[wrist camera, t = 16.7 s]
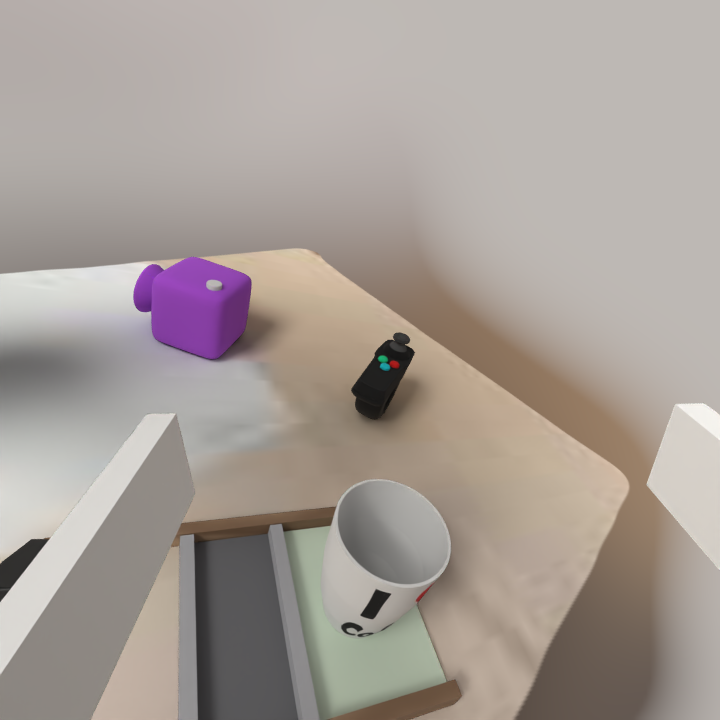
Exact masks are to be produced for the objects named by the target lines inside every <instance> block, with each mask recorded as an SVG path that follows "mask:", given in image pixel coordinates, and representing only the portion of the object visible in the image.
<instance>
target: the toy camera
mask: <svg viewBox="0 0 720 720" xmlns="http://www.w3.org/2000/svg"><path fill="white" fill-rule="evenodd" d="M250 295H251V279H250V277H249V276H247V275H246V274H244V273H241V272H239V271H236V270H233V269H230V268H228V267H225V266H222V265H219V264H216V263H213V262H210V261H207V260H204V259H201V258H197V257H190V258H187V259H184V260H182V261H180V262H179V263H177V264H175V265H173V266H171V267H169V268H168V269H166V270H163V269H162V268H161V267H160V266H159V265H156V264H152V265H149V266H148V267H146V268H145V269H144V270H143V272H142V273H141V275H140V276H139V278H138V280H137V282H136V285H135V289H134V296H133V298H134V304H135V306H136V308H137V309H138V310H139V311H141V312H149V311H151V316H152V333H153V336H154V338H155V339H157V340H158V341H160V342H163V343H165V344H168V345H170V346H173V347H176V348H179V349H182V350H184V351H187V352H190V353H193V354H196V355H199V356H202V357H205V358H209V359H216V358H218V357H220V356H221V355H222V354H223V353H224V352H225V351H226V350H227V349H228V348H229V347H230V346H231V345H232V344H233V343H234V342H235V341H236V340H237V339H238V338H239V337H240V336H241V335H242V333H243V332H244V330H245V327H246V322H247V316H248V309H249V302H250Z"/></svg>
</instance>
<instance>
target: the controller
mask: <svg viewBox="0 0 720 720" xmlns="http://www.w3.org/2000/svg"><path fill="white" fill-rule="evenodd" d="M393 338H394V340H395V341H394V340H387V341H386V342H384V343H383V344H382V345H381V346H380V347H379V348H378V349H377V350H376V352H375V357H374V359H373V360H372V361H371V363H370V364H369V365H368V367H367V368H366V369H365V371H364V372H363V373H362V375H361V376H360V378H359V379H358V380H357V382H356V383H355V384H354V386H353V387H352V390H351V391H352V393H353V394H354V395H355V396H356V397H357V398H356V402H355V407H356V410H357V411H358V412H359V413H361V414H362V415H364V416H366V417H369V418H371V419H379V418H380V417H381V416H382V415H383V414H384V412H385V411H386V409H387V407H388V405H389V403H390V402H391V400H392V398H393V396H394V393H395V391H396V389H397V387H398V385H399V383H400V380H401V379H402V378H403V376H404V374H405V372H406V370H407V368H408V366H409V364H410V362H411V360H412V358H413V356H414V353H415V352H414V350H413V349H412V348H410V347H408V346H406V345H405V344H408V343H409V342H410V338H409V337H408V336H407V335H406V334H403V333H395V334H394V336H393Z"/></svg>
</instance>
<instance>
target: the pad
mask: <svg viewBox="0 0 720 720" xmlns="http://www.w3.org/2000/svg"><path fill="white" fill-rule="evenodd" d="M330 527H331V526H325V527H317V528H309V529H301V530H293V531H285V532H283V533H284V538H285V543H286V548H287V554H288V559H289V564H290V569H291V574H292V579H293V585H294V590H295V595H296V600H297V605H298V610H299V616H300V621H301V626H302V631H303V636H304V641H305V647H306V652H307V657H308V662H309V667H310V673H311V678H312V683H313V688H314V693H315V698H316V704H317V709H318V714H319V719H320V720H327V719H330V718H333V717H337V716H340V715H343V714H346V713H349V712H353V711H356V710H359V709H362V708H365V707H369V706H372V705H375V704H378V703H381V702H385V701H388V700H391V699H394V698H397V697H401V696H404V695H407V694H410V693H413V692H417V691H420V690H423V689H426V688H429V687H433V686H436V685H439V684H442V683H445V682H447V680H446V678H445V675H444V673H443V670H442V668H441V665H440V663H439V660H438V658H437V655H436V653H435V650H434V648H433V645H432V642H431V640H430V637H429V635H428V632H427V630H426V627H425V625H424V622H423V620H422V617H421V615H420V612H419V610H418V607H417V604H416V605H415V606H414V607H413V608H412V609H411V610H409V611H408V612H407V613H406V614H405V615H403V616H402V617H401V618H400V619H398V620H397V621H396V622H395V623H393V624H392V625H391V626H390V627H388V628H387V629H385V630H383V631H380V632H378V633H375V634H373V635H370V636H368V637H364V638H351V637H347V636H345V635H343V634H341V633H340V632H338V631H337V630H336V629H335V628H334V627H333V626H332V625H331V624H330V622H329V621H328V619H327V617H326V615H325V612H324V608H323V600H322V593H321V574H322V565H323V557H324V549H325V544H326V541H327V538H328V534H329V531H330Z"/></svg>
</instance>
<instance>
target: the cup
mask: <svg viewBox="0 0 720 720" xmlns="http://www.w3.org/2000/svg"><path fill="white" fill-rule="evenodd" d="M450 554H451V541H450V535H449V532H448V529H447V526H446V524H445V522H444V520H443V518H442V516H441V515H440V513H439V512H438V511H437V509H436V508H435V507H434V506H433V505H432V503H431V502H430V501H429V500H427V499H426V498H425V497H424V496H423V495H421V494H420V493H419V492H417V491H416V490H414V489H412V488H410V487H408V486H406V485H404V484H401V483H399V482H395V481H391V480H385V479H371V480H365V481H362V482H359V483H357V484H355V485H353V486H352V487H350V488H349V489H348V490H347V491H346V492H345V493H344V494H343V495H342V496H341V498H340V500H339V502H338V504H337V507H336V510H335V513H334V517H333V520H332V524H331V527H330V531H329V534H328V538H327V541H326V544H325V549H324V557H323V565H322V574H321V593H322V600H323V608H324V612H325V615H326V617H327V619H328V621H329V622H330V624H331V625H332V626H333V627H334V628H335V629H336V630H337V631H338V632H340V633H341V634H343V635H345V636H347V637H351V638H364V637H368V636H370V635H373V634H375V633H378V632H380V631H383V630H385V629H387V628H388V627H390V626H391V625H392V624H393V623H395V622H396V621H397V620H398V619H400V618H401V617H402V616H403V615H405V614H406V613H407V612H408V611H409V610H411V609H412V608H413V607H414V606H415V605H416V604H417V603H418V602H419V600H420V599H421V598H422V597H423V596H424V594H425V593H426V592H427V591H428V589H429V588H430V587H431V586H432V585H433V583H434V582H435V581H436V580H437V579H438V577H439V576H440V575H441V574H442V573H443V571H444V570H445V568H446V566H447V564H448V562H449V559H450Z"/></svg>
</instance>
